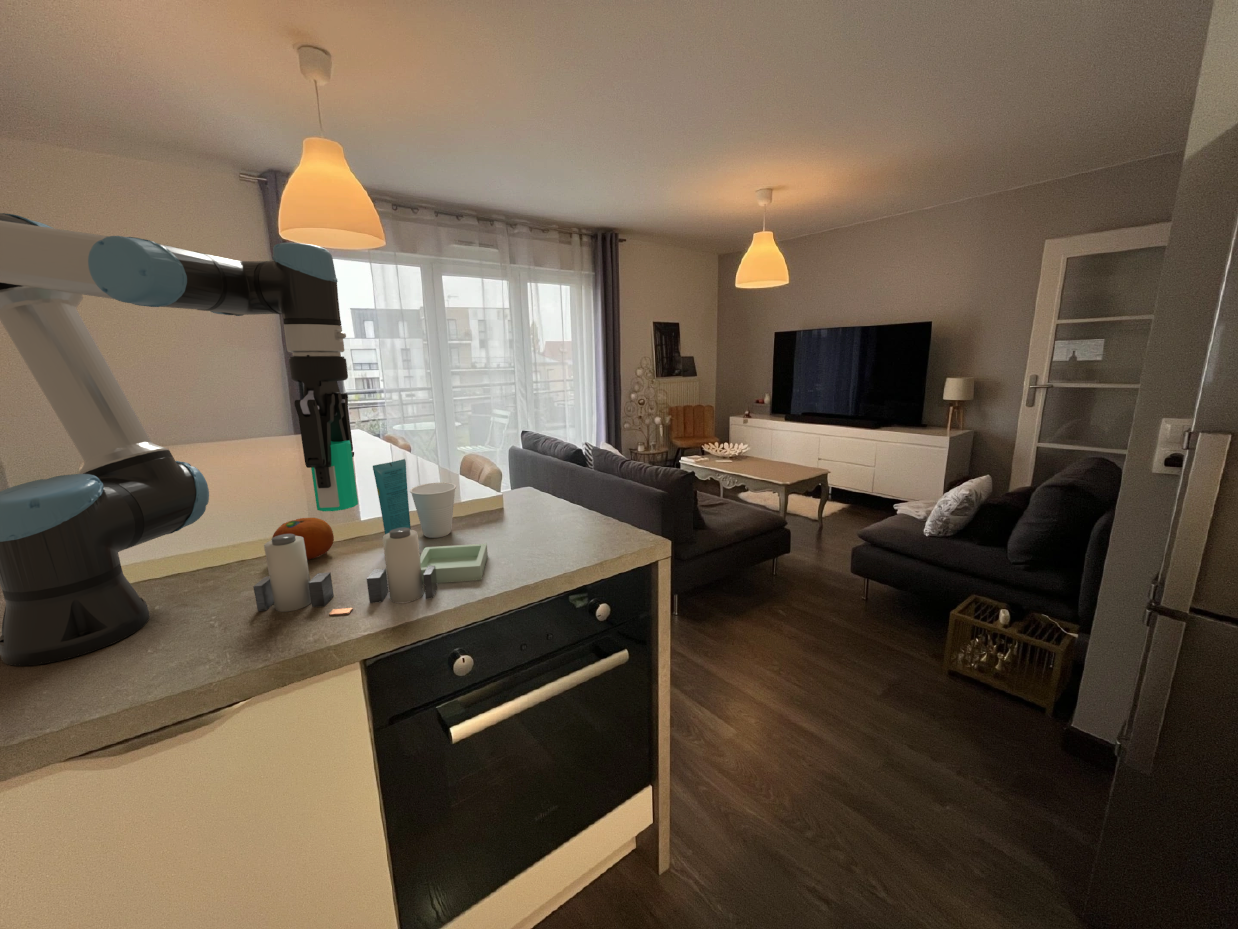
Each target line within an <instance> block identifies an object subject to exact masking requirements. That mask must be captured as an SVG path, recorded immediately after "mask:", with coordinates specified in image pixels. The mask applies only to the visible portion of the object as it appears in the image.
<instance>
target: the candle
mask: <svg viewBox="0 0 1238 929" xmlns="http://www.w3.org/2000/svg"><path fill="white" fill-rule="evenodd" d="M330 446H331V466H334V467H335V475H336V482H337V490H338V498H339V505H340V506H339V507H325V508H320V506H319V499H318V492H317V485H316V478H315V471H314V468H310V470H311V475H312V477H311V478H312V483H313V490H314V495H315V496H314V497H315V504H316V510H317V511H320V512H340V511H343V510H344V511H345V510H347V509H351V508H354V507H356V506H357V505H359V500H358V492H357V484H356V476H355V474H356V473H355V468H354V467H355V466H354V461H353V460H354V459H353V458H354V457H352V452H353V451H352V450H351V443H350V440H348V441H342V442H333V441H331V445H330Z"/></svg>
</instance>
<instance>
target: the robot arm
mask: <svg viewBox="0 0 1238 929" xmlns="http://www.w3.org/2000/svg"><path fill="white" fill-rule="evenodd" d="M272 251H273V252H272V253H273V254H272V257H271V258H272V260H263V261H262V260H252V261H251V260H237V259H232V258H227V257H223V256H218V255H213V254H209V253H203V252H199V251H193V250H190V249H189V250H188V249H184V248H180V247H176V246H171V245H167V244H162V243H158V242H155V241H153V240H150V239H145V238H139V237H134V236H123V235H122V236H121V235H110V236H109V235H103V234H95V233H89V232H83V231H75V230H69V229H67V230H66V229H61V228H55V227H52V226H49V225H48V224H46V223H42V222H39V221H37V220H36V221H35V220H32V219H29V218H27V217H24V216H20V215H17V214H12V213H5V212H3V213H1V212H0V322H1V324H2V326H3V327H4V329H5V331H6V332H7V334H8V336H9V338H10V339H11V342H12V343H13V344H14V346H15V348H16V349H17V351H18V353H19V355H20V356H21V358H22V360H23V361H24V363H25V364H26V366H27V368H28V370H29V371H30V373H31V374H32V376H33V378H34V379H35V381H36V382H37V383H36V384H38V387H39V388H40V389H41V391H42V393H43V395H44V397H45V398H46V399H47V401H48V403H49V405H50V406H51V408H52V410H53V411H54V413H55V415H56V416H57V418H58V419H59V422H60V423H61V425H62V426H63V428H64V430H65V431H66V432H67V434H68V436H69V438H70V440H71V441H72V443H73V444H74V446H75V448H76V450H77V451H78V453H79V455H80V456H81V458H82V460H83V462H84V463H83V466H82V467H81V468H80V471H79V472H78V473H73V474H64V475H58V476H53V477H49V478H44V479H43V478H41V479H36V480H31V481H27V482H24V483H20V484H17V485H13V486H11V487H8V488H5V489H3V490H0V589H1V592H2V595H3V598H4V602H5V607H4V612H3V617H2V622H1V623H2V624H1V635H0V658H1V660H2V662H3V664H6V665H10V666H18V667H19V666H21V667H22V666H36V665H43V664H49V663H55V662H59V661H63V660H67V659H71V658H74V657H78V656H83V655H85V654H89V653H91V652H95V651H97V650H100V649H103V648H106V647H107V646H110V645H113V644H114V643H116V642H119V641H121V640H124V639H126V638H127V637H129V636H131V635H133V634H134V633H136V632H137V631H138V630H141V629H142V628H143V627H144V626H145V625H146V624H147V623H148V622H149V620H150V616H151V615H150V612H149V607H148V604H147V603H146V601H145V599H143V597H140V595H139V594H138V592H137V591H136V589H135V588H134V587H133V586H132V584H131V582H129V580H128V579H127V577H126V576H125V574H124V572H123V569H122V564H121V560H120V556H119V552H123V551H124V550H127V549H130V548H133V547H135V546H138V545H141V544H144V543H146V542H150V541H152V540H155V539H158V538H159V537H160V538H161V537H163V536H167V535H170V534H173V533H175V532H179V531H180V530H182V529H183V528H185V527H188V526H190V525H192V524H194V523H195V522H197V521H199V519H201V517H202V516H203V515H204V514H205V512H206V509H207V505H208V504H209V500H210V491H209V490H210V489H209V486H208V482H207V481H206V477H205V476H204V475H203V473H202V472H201V471H200V470H199V469H198V467H196V466H192V464H191V463H188V462H185V461H179V460H175V458H174V456H173V455H172V452H171V451H170V449H169V448H167V447H165V446H163V445H162V446H161V445H158V444H156V443H154V442H152V439H151V438H150V437H149V434H148V433H147V431H146V429H145V427H144V425H143V424H142V422H141V421H140V419H139V417H138V415H137V414H136V411H135V409H134V408H133V407H132V405H131V403H130V401H129V399H128V397H127V395H126V394H125V392H124V390H123V389H122V387H121V385H120V383H119V381H118V380H117V377H116V376H115V375H114V373H113V371H112V369H111V368H110V366H109V364H108V362H107V360H106V359H105V357H104V355H103V353H102V352H101V350H100V348H99V346H98V345H97V342H96V341H95V340H94V337H93V336H92V334H91V333H90V330H89V328H88V327H87V325H86V324H85V322H84V320H83V318H82V316H81V315H80V314H81V313H79V311H78V309H77V308H78V306H79V305H80V303H81V302H82V301H83V298H84V296H89V297H96V298H102V299H104V298H105V299H110V300H116V301H119V302H121V303H127V304H130V305H131V304H132V305H134V306H135V305H136V306H141V307H150V308H170V309H171V308H173V309H182V310H183V309H185V310H196V311H203V312H205V311H206V312H210V313H212V314H215V315H224V316H234V317H235V316H236V317H242V316H245V315H250V316H251V315H253V316H254V315H282V321H283V328H284V330H283V331H284V338H285V344H286V346H285V347H286V352H288V353H292V356H289V358H288V364H289V369H290V377H291V380H292V381H294V382H298V383H300V382H301V383H302V384H303V398H302V399H295V400H294V402H293V405H294V408H295V410H296V413H297V417H298V423H299V429H300V430H299V431H300V437H301V443H302V451H303V458H304V459H303V460H304V464H305V466H306V467H305V468H310V469H311V468H314V471H315V478H316V485H317V492H318V499H319V506H320V508H325V507H339V506H340V505H339V498H338V490H337V482H336V475H335V467H334V466H331V446H330V445H331V441H333V442H342V441H348V440H350V443H351V450H352V458H354V457H355V451H353V450H354V446H353V435H352V431H351V430H352V428H351V422H350V414H349V394H348V392H341V391H340V388H339V384H338V382H343V381H346V380H348V378H349V371H348V365H347V358H345V356H341V353H344V352H345V344H344V343H345V342H344V339H346V338H347V334H346V333H345V332H344V331H343V327H342V321H341V314H340V313H341V311H340V302H339V293H338V291H339V290H338V282H339V281H338V278H337V275H336V270H335V264H334V260H333V259H334V258H333V256H332V253H331V252H330V251H329V250H328V249H326V248H324V247H322V246H318V245H315V244H309V243H303V242H302V243H301V242H281V243H277V244H275V245H274V246H273V248H272ZM83 295H84V296H83Z"/></svg>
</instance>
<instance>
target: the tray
mask: <svg viewBox="0 0 1238 929" xmlns="http://www.w3.org/2000/svg"><path fill="white" fill-rule="evenodd" d="M488 558H489V555H488V543H475V544H458V545H441V546H425V548H424V549H423V550H422V553H420V561H421V571H422V581H423V585H424V577H423V574H424V573H425V571H426V569H427V567H428V566H435V568H436V579H437V584H446V583H459V582H461V583H462V582H474V581H482V579H483V574H484V571H485V568H486V564H487V560H488Z"/></svg>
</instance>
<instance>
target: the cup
mask: <svg viewBox="0 0 1238 929" xmlns="http://www.w3.org/2000/svg"><path fill="white" fill-rule="evenodd" d="M456 489H457V485H456V484H455V483H452V482H451V483H450V482H429V483H423V484H420V485H415V486H414V487H412V488H410V489H409V493H411V497H412V500H413V503H414V507H415V510H416V513H417V517H418V521H419V524H420V528H421V531H422V534H423V536H425V537H426V538H428V539H429V538H430V539H437V538H443V537H446V536H448V535H450V533H451V532H452V529H453V517H454V507H455V506H454V504H455V496H456V495H455V492H456Z"/></svg>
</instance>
